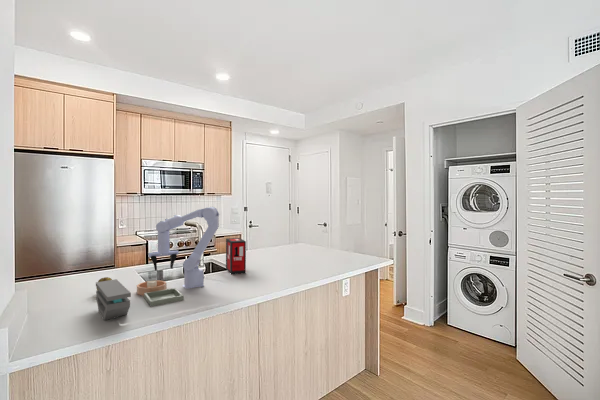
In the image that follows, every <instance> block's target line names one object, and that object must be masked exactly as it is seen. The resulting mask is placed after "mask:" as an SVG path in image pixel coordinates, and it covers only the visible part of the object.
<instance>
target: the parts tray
mask: <svg viewBox="0 0 600 400" xmlns="http://www.w3.org/2000/svg"><path fill="white" fill-rule="evenodd" d="M184 297H185V296H184V294H183V293H182V292H181V291H179V290H178V289H177V288H176V287H172V288H167V289H166V290H160V291H154V292H148V293H144V296H143V298H144V299H145V301H146V303H148V305H149V306H150V307H154V306H160V305H164V304H165V305H166V304H170V303H176V302H178V301H179V302H180V301H184V300H185V298H184Z"/></svg>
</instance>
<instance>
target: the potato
mask: <svg viewBox="0 0 600 400" xmlns="http://www.w3.org/2000/svg"><path fill="white" fill-rule="evenodd" d="M108 280H113V279H112V277H108V276H105V277H102V278H100V279H98V280H97V282H102V281H108ZM95 287H96V286H95ZM97 290H98V288H97V287H96V291H97Z"/></svg>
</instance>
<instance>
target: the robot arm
mask: <svg viewBox="0 0 600 400" xmlns="http://www.w3.org/2000/svg"><path fill="white" fill-rule="evenodd" d="M219 216H220V213H219V211H218V209H217V208H216V207H215V206H210V207H204V208H200V209H197V210H193V211H191V212H189V213H186V214H184V215H180V214H175V215H173V216H172V217H169V218H164V220H161V221H158V222H157V223H156V226H155V228H156V231H157V251H153V252H148V254H147V255H148V258H150V259H151V261H152V264H153V267H154V271H157V270H158V266H157V265H158V259H157V257H164V256H169V257H170V263H169V265H170V269H173V268H174V263H175V261H176V258H177V257H178V255H179V250H170V249H171V248H170V247H171V246H170V244H171V243H170V240H171V239H170V234H171V233H170V231H171V230H173V229H176V228H178V227H181V226H183V225H184V223H185V222H187V221H189V220H193V219H195V218H201V219H202V218H203V219H204V220H205V221H206V224H207V226H208V227H207V228H206V229H205V230H204V231H205V232H203V234H202V237H200V240H199V241H198V243H197V244H196V246H195V248H194V249H193V251H192V252H191V254H190V255H189V257H188V258H187V259H185V260H184V261H183V263H182V267H183V270H184V271H183V273H184V275H183V279H184V281H183V284H181V286H182V287H183V288H185V290H188V289H193V288H199V287H200V288H203V287H205V285H204V284H205V283H204V281H205V279H204V278H205V277H204V270H203V268H199V265H200V261H201V258H202V255H203V254H204V252H205V251H206V249H207V247H208V245H209V243H210V242H211V241H212V239H213V238H214V236H215V234H216V232H217V230H218V229H219V227H220V223H219V222H220V220H219V218H220V217H219Z"/></svg>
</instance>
